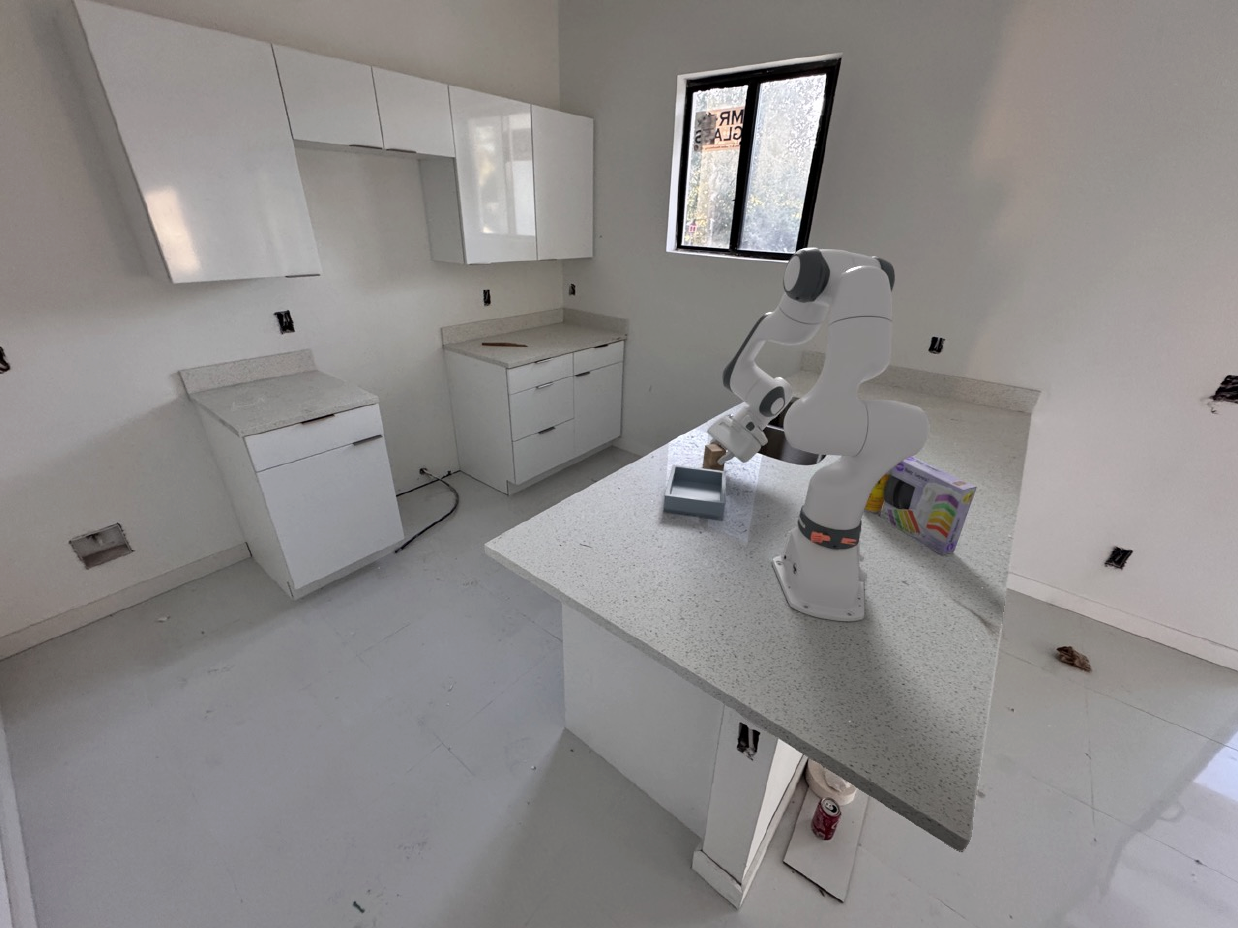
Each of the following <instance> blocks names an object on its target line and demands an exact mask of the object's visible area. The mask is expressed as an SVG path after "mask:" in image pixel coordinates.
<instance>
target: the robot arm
mask: <svg viewBox="0 0 1238 928" xmlns="http://www.w3.org/2000/svg"><path fill="white" fill-rule="evenodd" d="M895 281H896V274H895V269H894V266H893V264H892V263H891V262H889V261H888V260H886V259H884V258H881V257H878V256H868V255H866V254H862V253H856V252H851V251H848V250H843V249H828V248H826V249H825V248H824V249H823V248H820V249H819V248H818V247H805V248H802V249H799V250H797V251H796V252H795V253H793V255H791V257H790V258H789V260H788V262H787V264H786V266H785V269H784V274H783V281H782V285H783V290H784V293H783V295H782V297H781V299H780V301H779V303H778V305H777V307H776V308H775V310H774V311H769V312H766V313H765V314H763V315H762V316H760V318H759V319H758V320H757V321H756V322H755V323H754V325H753V327H752V328H751V330H750V331H749V333H748V334H747V336H746V338H745V339H744V341H743V342H742V344H741V346H740V347H739V349H738V351H736V354H734V357H733V358H731V360H730V361H729V363H728V364H727V365H726V366H725V368H724V369H723V372H722V383H723V384H722V385H723V387H724V388H726V389H727V390H728V391H730V392H731V393H733V394H735V395H736V396H737V397H738V398H739V399H740V400H742V401H743V402H744V403H745V404H744V405H743V406H742V407H741V408H740V409H739V410H738V411H737V412H736V413H735V414H734V415H733V414H731V413H729V414H725V415H723V416H721V417H719V418H718V419H717V420H716V421H714V422H713V423H712V424H711V425H710V426H708V428H707V430H706V433H707V434H708V435H709V436H710V437H711V438H712V439H711V440H710V442H709V443H708V445H711V444H720V445H721V446H723V447H724V448H725V449H726V450H727V451H726V455H724V456H722V457H720V456H719V457H718V458H717V459H716V461H717V462H718V463H719V464H720V465H722V464H723V463H724V462H725V463H726V462H728V461H731V460H733V459H734V458H736V459H737V460H738V461H739V462H741V463H742V464H746V463H747V462H749V461H750V460H751V459H752V458H754V457H755V455H756V454H757V453H759V451H760V450H761V447H762V446H765V445H767V443H768V438H767V437H766V434H765V432H764V431H763V430H764V429H765V428H766V427H767V426H768V424H769V423H770V421H772V420H774V419H776V417H778V415H779V414H781V413H782V412H783V410H784V409H785V408H786V407H787V406H788V405H789V403H790V402H791V400H792V399H793V397H794V396H795V390H794V387H793V386H792V385H791V383H789V381H787V380H786V379H785V378H783V377H781V376H777V377H775V378H773V377H772V376H770V375H769V374H768V373H767V372H766V371H764V370H763V369H761V368H760V367H759V366H758V365H757V363H756V361H755V359H756V357H757V356H758V354H759V352H760V350H761V349H762V348H763V346H764V345H765V343H766V342H772V343H775V344H779V345H783V346H798V345H799V346H800V345H802V344H805V343H807V342H808V341H811V340H812V339H813V338H814V337H815V336H816V334H817V333H818V331H819V330H820V328H821V326H822V324H823V322H824V321H825V319H826V317H827V315H828V322H827V323H828V324H827V337H826V338H827V339H826V350H825V357H824V364H823V368H822V370H821V373H820V376H819V378H818V379H817V381H816V383H814V385H813V386H812V388H810V390H809V391H808V392H806V393H805V394H804V395H803V396H801V397H800V398H799V399H796V401H793V403H792V404H791V405H790V407H789V408H788V410H787V412H786V414H785V416H784V419H783V431H784V436H785V438H786V440H787V442H788V443H789V445H790V447H792V448H793V449H795V450H799V451H802V452H806V453H811V454H814V455H822V456H824V455H825V456H838V457H839V456H840V457H839V458H838V459H837V460H835V461H834V462H831V463H829V464H827V465H824V466H822V467H821V468H820V467H819V469H817V470H816V471H814V473H813V474H812V476H811V477H810V480H809V483H808V485H807V491H806V494H805V495H806V496H805V499H804V503H803V505H802V506H801V507H800V508H801V509H800V510H799V513H798V517H797V518H798V519H797V524H796V526H794V527H792V528H791V529H790V530H789V531H787V533H786V537H785V540H784V544H783V547H782V550H781V554H780V555H777V556H774V557H773V558H772V560H771V565H772V567H773V570H774V573H775V574H776V576H777V579H778V581H779V583H780V585H781V588H782V591H783V593H784V596H785V599H786V600H787V602H788V603H787V604H788V605H789V606H790V607H791V609H794V610H796V611H798V612H800V613H803V614H805V615H807V616H811V617H816V618H819V619H825V620H831V621H839V622H856V621H861V620H863V619H864V617H865V592H864V590H865V588H864V583H866V582H867V580H868V571H866V570H863V569H861V567H860V562H864V561H865V560H864V559H865V555H864V554H861V551H860V550H861V548H860V547H861V544H862V542H861V541H860V537H861V534H862V526H863V524H862V523H863V522H862V518H863V515H864V509H865V506H866V503H867V501H868V498H869V496H870V493H871V492H872V490H873V488H874V487H875V485H876V484H877V482H878V481H879V480H880V479H881V478H882V477H883V476H884V475H885V474H886V473H887V472H888V471H889V470H890V469H891V468H893V467H894V466H895V465H897V464H898V463H900V462H901V461H903V460H905V459H907V458H909V457H911V456H913V457H915V456H916V455H917V454H918V453H920V452H921V450H923V448H924V447H925V446H926V444H927V442H928V440H929V437H930V434H931V432H930V431H931V427H930V422H929V421H930V420H929V419H928V416H927V414H926V413H925V411H924V410H923V409H922V408H921V407H920V406H917V405H913V404H911V403H910V404H909V403H907V402H901V401H899V400H893V399H892V400H891V399H890V400H889V399H878V398H877V399H875V398H874V399H873V398H859V397H858V394H859V393H858V391H859V389H860V388H859V387H860V386H861V384H863V383H864V382H866V381H869V380H872V379H874V378H876V377H878V376H880V375H881V374H882V373H884V371H885V370H886V369H887V368H888V366H889V365H890V363H891V360H892V339H893V338H892V337H893V314H894V312H893V298H892V291H893V289H894V287H895Z"/></svg>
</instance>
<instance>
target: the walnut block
mask: <svg viewBox="0 0 1238 928" xmlns="http://www.w3.org/2000/svg"><path fill="white" fill-rule="evenodd" d="M727 451H728V450H726V449H725V448H724V447H723V446H721V445H720V444H711V445H709V444H704V453H703V459H702V468H703V469H711V470H719V471H725V465H726V464H725V463H726V461H725V462H724V463H723V464H722V465H720V464H719V463H718V462H717V461H716V459H717V458H718V457H719V456H720V457H722V456H724V455H726V452H727Z"/></svg>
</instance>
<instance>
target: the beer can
mask: <svg viewBox="0 0 1238 928" xmlns="http://www.w3.org/2000/svg"><path fill="white" fill-rule="evenodd" d="M892 471H893V468H891V469H890V470H889V471H888V472H887V473H886V474H885V475H884V476H883V477H882V478H881V479H880V480H879V481H878V482H877V484H876V485H875V487H874V488H873V490H872V492H871V493H870V496H869V498H868V501H867V503H866V506H865V509H864V511H865V512H867V513H872V514H876V513H878V512H879V511H880V512H881V511H882V508H883V504H884V501H885V500H884V489H885V485H886V482H887V480H888V479H889V477H890V476H891V475H892Z"/></svg>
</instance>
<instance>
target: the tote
mask: <svg viewBox="0 0 1238 928" xmlns="http://www.w3.org/2000/svg"><path fill="white" fill-rule="evenodd" d="M668 478H669V479H668V480H667V481H668V482H667V485H666V489H665V494H664V501H663V511H662V512H663V513H666V514H673V515H681V516H682V515H683V516H689V517H695V518H703V519H709V520H717V521H723V520H724V519H723V518H724V512H725V505H726V488H727V487H726V485H727V471H725V470H724V471H719V470H711V469H703V468H701V467H694V466H685V465H679V464H678V465H677V464H672V466H671V470H670V474H669V477H668Z"/></svg>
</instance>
